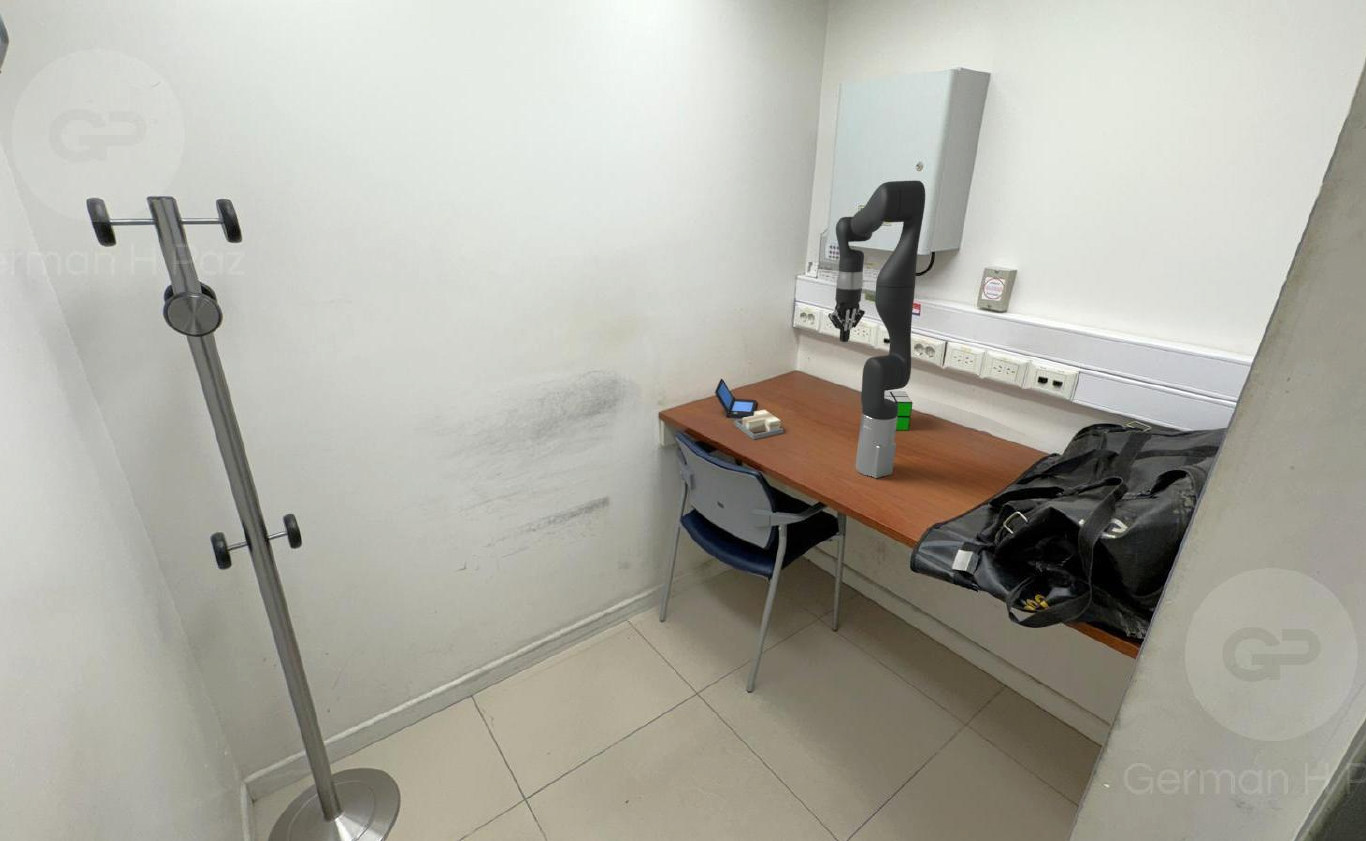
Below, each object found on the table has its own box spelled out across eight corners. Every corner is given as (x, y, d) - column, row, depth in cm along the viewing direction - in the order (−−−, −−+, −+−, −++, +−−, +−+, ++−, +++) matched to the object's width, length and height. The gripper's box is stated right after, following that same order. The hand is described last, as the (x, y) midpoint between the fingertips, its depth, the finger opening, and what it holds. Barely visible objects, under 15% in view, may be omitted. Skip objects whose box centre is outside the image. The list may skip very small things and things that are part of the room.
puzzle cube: (901, 418, 196) (905, 390, 192) (908, 431, 187) (913, 402, 183) (870, 418, 197) (874, 390, 193) (876, 430, 188) (880, 401, 184)
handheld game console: (753, 420, 198) (753, 394, 194) (714, 417, 200) (714, 392, 197) (757, 403, 212) (758, 379, 208) (720, 400, 214) (721, 377, 211)
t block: (779, 431, 188) (780, 420, 187) (753, 437, 185) (753, 425, 183) (763, 420, 197) (764, 409, 195) (737, 425, 193) (738, 414, 192)
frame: (783, 433, 187) (783, 428, 187) (753, 439, 183) (753, 435, 183) (762, 418, 198) (762, 414, 197) (733, 424, 194) (734, 420, 193)
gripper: (839, 290, 171) (835, 347, 178) (874, 285, 176) (868, 341, 183) (823, 286, 177) (819, 341, 184) (857, 282, 182) (852, 336, 189)
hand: (844, 341), depth 183 cm, fingers closed
